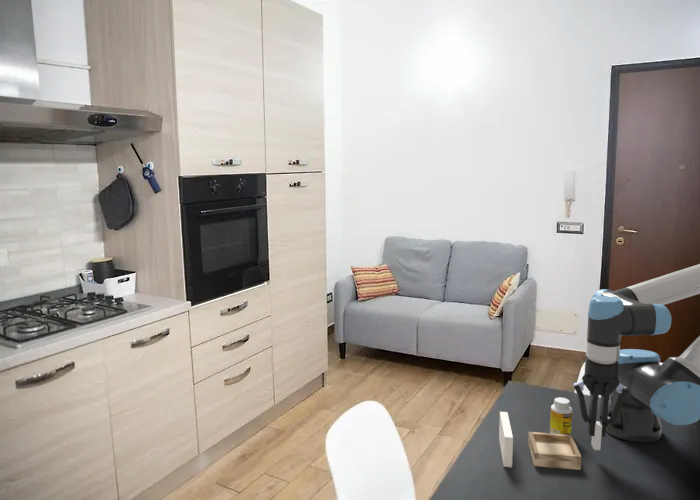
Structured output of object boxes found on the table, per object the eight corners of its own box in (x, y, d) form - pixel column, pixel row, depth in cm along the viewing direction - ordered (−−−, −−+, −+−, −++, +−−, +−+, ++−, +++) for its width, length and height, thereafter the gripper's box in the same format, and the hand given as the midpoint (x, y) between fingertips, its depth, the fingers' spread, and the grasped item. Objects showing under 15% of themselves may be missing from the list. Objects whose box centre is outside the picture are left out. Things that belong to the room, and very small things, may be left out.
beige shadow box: (571, 447, 143) (571, 434, 143) (580, 469, 132) (581, 456, 132) (528, 443, 145) (528, 431, 145) (534, 465, 135) (534, 453, 134)
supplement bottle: (562, 441, 146) (564, 406, 144) (545, 433, 151) (546, 399, 149) (575, 435, 149) (577, 401, 147) (557, 428, 154) (559, 394, 152)
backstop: (506, 439, 148) (507, 412, 146) (512, 467, 134) (513, 437, 133) (499, 438, 148) (499, 411, 147) (503, 466, 134) (504, 436, 133)
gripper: (625, 355, 135) (618, 442, 139) (571, 352, 138) (565, 437, 141) (635, 366, 128) (628, 457, 132) (577, 362, 130) (571, 452, 134)
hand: (595, 447), depth 136 cm, fingers closed
